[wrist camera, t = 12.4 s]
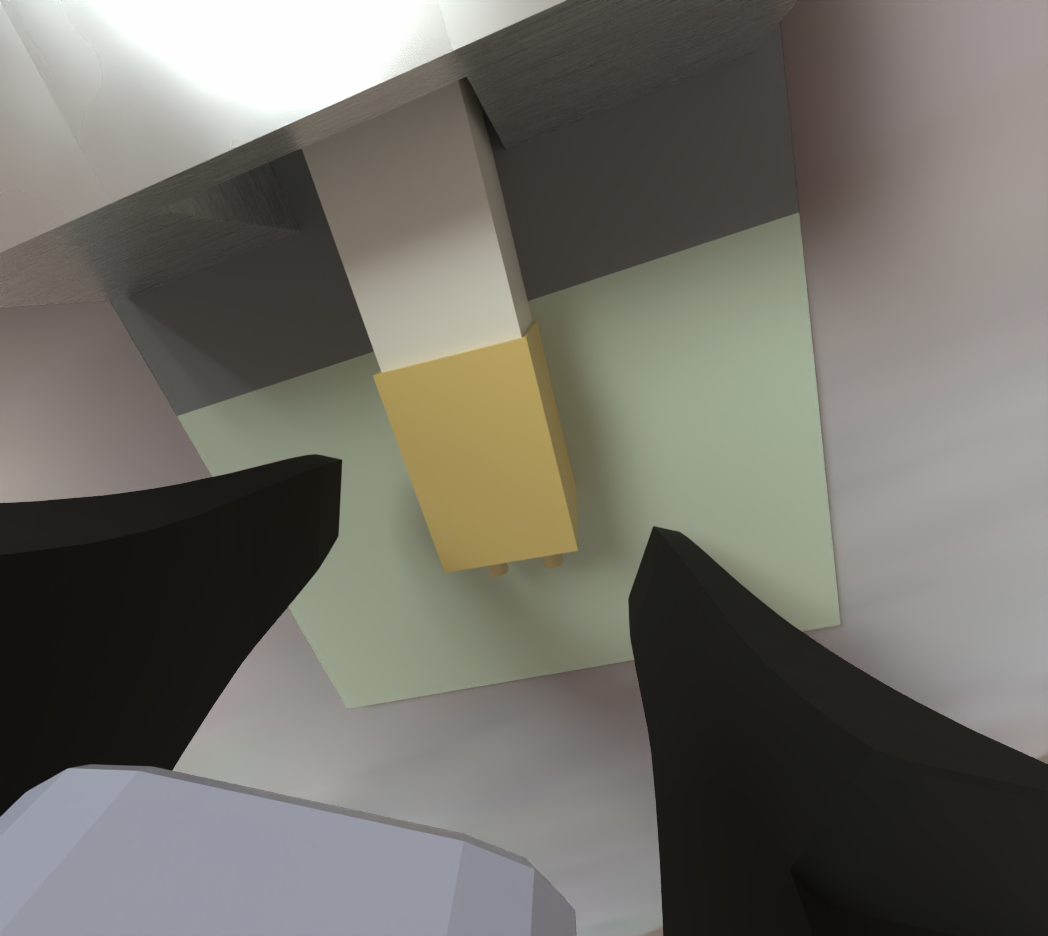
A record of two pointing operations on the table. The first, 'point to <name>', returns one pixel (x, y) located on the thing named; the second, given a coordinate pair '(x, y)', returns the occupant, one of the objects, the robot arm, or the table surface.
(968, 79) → the table surface
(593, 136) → the mat
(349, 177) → the plug
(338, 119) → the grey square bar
